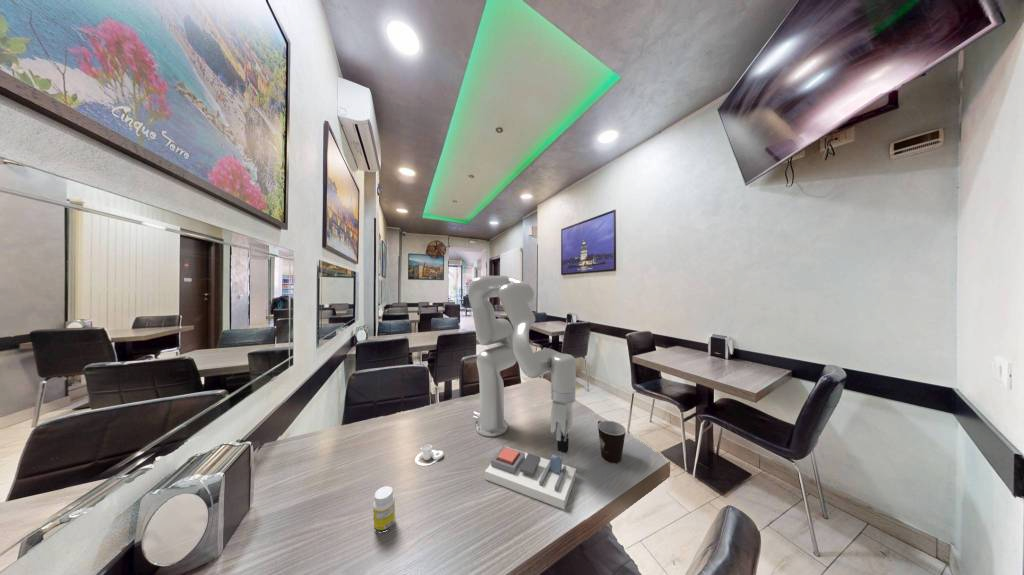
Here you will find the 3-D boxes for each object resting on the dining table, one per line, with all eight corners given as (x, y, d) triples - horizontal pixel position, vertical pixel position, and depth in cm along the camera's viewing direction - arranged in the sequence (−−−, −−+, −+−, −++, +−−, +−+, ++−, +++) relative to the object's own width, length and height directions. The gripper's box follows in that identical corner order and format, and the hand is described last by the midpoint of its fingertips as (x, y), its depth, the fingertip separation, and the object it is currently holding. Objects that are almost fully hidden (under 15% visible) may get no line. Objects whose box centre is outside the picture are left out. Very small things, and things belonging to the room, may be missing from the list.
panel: (485, 479, 82) (484, 465, 82) (505, 453, 94) (505, 441, 94) (564, 509, 72) (564, 493, 71) (575, 476, 83) (576, 462, 83)
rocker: (520, 472, 81) (520, 468, 81) (528, 456, 86) (528, 453, 86) (533, 476, 79) (533, 472, 79) (540, 460, 84) (540, 456, 84)
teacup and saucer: (446, 455, 93) (446, 444, 93) (430, 471, 86) (430, 458, 86) (426, 448, 97) (426, 437, 97) (409, 462, 90) (409, 450, 90)
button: (497, 463, 85) (497, 456, 85) (505, 453, 89) (505, 447, 89) (512, 468, 82) (512, 461, 82) (519, 458, 87) (519, 451, 87)
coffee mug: (627, 467, 87) (628, 436, 86) (598, 463, 89) (599, 433, 88) (620, 444, 98) (621, 417, 98) (595, 441, 100) (595, 415, 99)
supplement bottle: (378, 517, 70) (377, 485, 69) (398, 515, 70) (397, 483, 69) (370, 535, 65) (369, 501, 64) (391, 533, 65) (390, 499, 65)
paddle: (550, 471, 82) (550, 455, 81) (551, 468, 83) (551, 452, 83) (561, 474, 80) (561, 459, 80) (562, 471, 81) (563, 456, 81)
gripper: (558, 383, 95) (558, 435, 96) (544, 401, 82) (543, 461, 83) (580, 387, 92) (579, 440, 93) (569, 407, 78) (568, 469, 79)
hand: (562, 450), depth 88 cm, fingers closed
